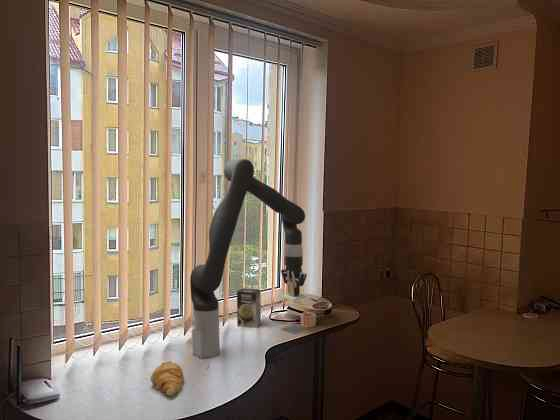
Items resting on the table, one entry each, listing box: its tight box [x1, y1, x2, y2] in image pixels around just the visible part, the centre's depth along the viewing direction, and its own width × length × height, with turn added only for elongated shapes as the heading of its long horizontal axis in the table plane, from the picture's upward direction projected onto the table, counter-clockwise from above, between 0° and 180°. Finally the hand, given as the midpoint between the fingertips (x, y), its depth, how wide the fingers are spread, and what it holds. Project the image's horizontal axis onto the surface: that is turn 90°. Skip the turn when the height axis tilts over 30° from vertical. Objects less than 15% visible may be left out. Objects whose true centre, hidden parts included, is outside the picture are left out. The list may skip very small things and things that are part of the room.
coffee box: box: [236, 287, 262, 329], centre depth 205 cm, size 9×6×16 cm
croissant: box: [150, 361, 185, 397], centre depth 151 cm, size 21×10×8 cm, turn 21°
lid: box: [280, 281, 307, 302], centre depth 197 cm, size 8×8×7 cm
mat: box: [280, 324, 309, 335], centre depth 199 cm, size 9×9×1 cm
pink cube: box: [300, 311, 317, 328], centre depth 205 cm, size 6×6×5 cm
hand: (293, 294), depth 198 cm, fingers closed on lid, 3 cm apart
